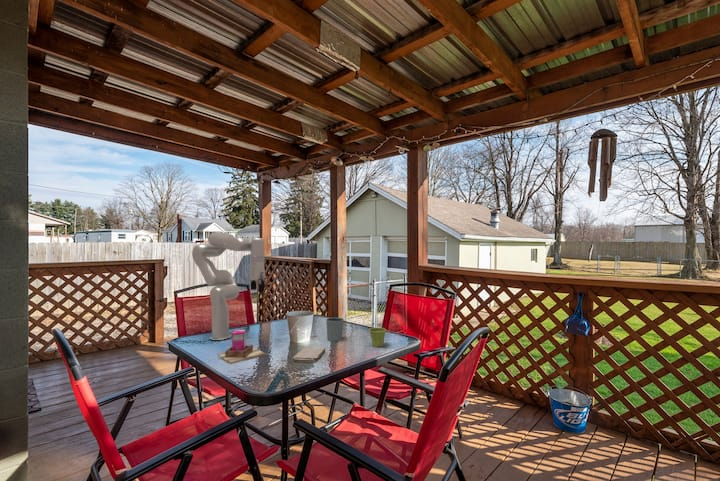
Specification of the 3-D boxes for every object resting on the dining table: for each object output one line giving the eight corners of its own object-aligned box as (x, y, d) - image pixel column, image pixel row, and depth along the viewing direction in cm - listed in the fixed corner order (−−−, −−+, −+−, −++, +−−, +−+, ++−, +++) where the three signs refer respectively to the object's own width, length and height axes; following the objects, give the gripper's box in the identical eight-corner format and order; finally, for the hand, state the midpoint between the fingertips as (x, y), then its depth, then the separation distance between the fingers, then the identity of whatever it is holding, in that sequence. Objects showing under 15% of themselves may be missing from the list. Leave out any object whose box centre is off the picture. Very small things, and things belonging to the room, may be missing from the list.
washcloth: (291, 363, 161) (291, 356, 161) (303, 351, 178) (303, 345, 178) (315, 364, 159) (315, 358, 159) (325, 352, 176) (325, 346, 176)
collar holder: (217, 356, 170) (217, 348, 170) (251, 348, 183) (250, 340, 183) (230, 364, 159) (230, 355, 159) (265, 355, 171) (265, 347, 171)
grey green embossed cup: (324, 338, 201) (323, 318, 201) (339, 336, 205) (339, 316, 205) (329, 342, 192) (329, 321, 192) (346, 340, 196) (346, 319, 196)
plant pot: (380, 349, 179) (380, 332, 179) (365, 346, 185) (365, 330, 185) (389, 345, 187) (389, 329, 187) (375, 342, 192) (375, 326, 193)
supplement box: (233, 352, 172) (233, 330, 173) (245, 351, 174) (245, 329, 174) (231, 356, 167) (231, 333, 167) (244, 355, 168) (244, 332, 168)
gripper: (244, 259, 194) (244, 289, 194) (258, 260, 181) (258, 292, 181) (256, 259, 199) (256, 288, 199) (271, 260, 187) (271, 291, 186)
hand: (257, 290), depth 190 cm, fingers open, 9 cm apart
